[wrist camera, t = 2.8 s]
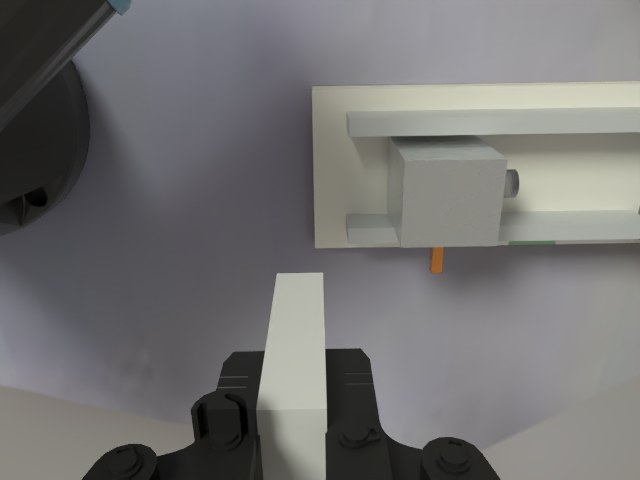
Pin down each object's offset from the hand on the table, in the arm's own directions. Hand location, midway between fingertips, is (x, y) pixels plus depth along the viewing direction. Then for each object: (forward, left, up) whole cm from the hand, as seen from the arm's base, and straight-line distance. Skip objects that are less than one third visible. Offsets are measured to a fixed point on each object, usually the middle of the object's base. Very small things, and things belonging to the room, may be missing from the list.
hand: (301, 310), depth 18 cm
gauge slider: (+8, -1, -16) cm, 18 cm away
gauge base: (+12, 0, -17) cm, 21 cm away
